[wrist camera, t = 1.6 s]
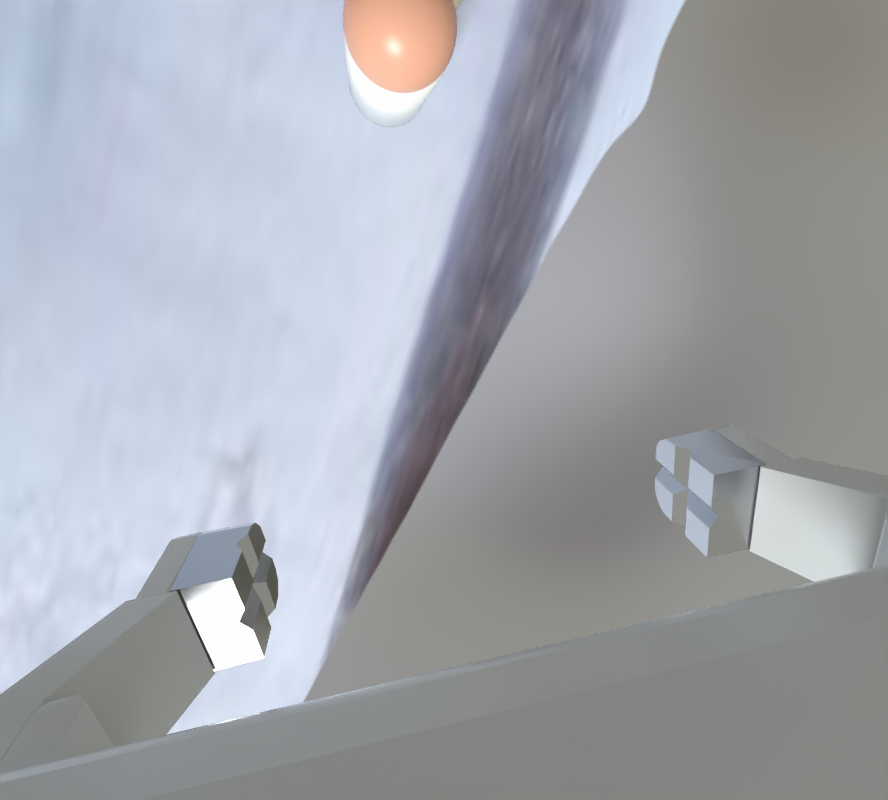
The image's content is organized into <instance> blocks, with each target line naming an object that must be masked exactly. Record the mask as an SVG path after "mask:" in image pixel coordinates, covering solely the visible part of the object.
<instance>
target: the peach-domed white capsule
mask: <svg viewBox="0 0 888 800" xmlns="http://www.w3.org/2000/svg"><path fill="white" fill-rule="evenodd" d="M343 29H344V39H345V50H346V60H347V70H348V80H349V88H350V93H351V96H352V99H353V101H354V103H355V105H356V107H357V108H358V110H359V111H360V112H361V113H362V115H363V116H364V117H366V118H367V119H368V120H369V121H371V122H373V123H374V124H377V125H379V126H382V127H389V128H391V127H399V126H402V125H404V124H406V123H408V122H409V121H411V120H412V119H413V118H414V117H415V116H416V115H417V114H418V112H419V111H420V109H421V108H422V106H423V104H424V103H425V101H426V100H427V98H428V96H429V95H430V93H431V91H432V90H433V88H434V87H435V85H436V83H437V82H438V80H439V78H440V77H441V75H442V74H443V72H444V70H445V69H446V67H447V65H448V63H449V61H450V59H451V56H452V54H453V50H454V47H455V42H456V35H457V17H456V10H455V5H454V1H453V0H345V1H344V9H343Z"/></svg>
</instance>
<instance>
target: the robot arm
mask: <svg viewBox="0 0 888 800" xmlns="http://www.w3.org/2000/svg"><path fill="white" fill-rule="evenodd" d="M656 460H657V461H658V462H659V464H660V465H661V466H662V469H661V470H660V471H659V473H658V474H657V476H656V477H655V492H656V496H657V499H658V502H659V505H660V507H661V509H662V510H663V512H664V514H665V515H666V516H667V517H668V518H669V519H670V520H671V521H672V522H675V523H678V524H680V525H683V526H685V527H686V531H685V535H686V537H687V538H688V539H689V540H690V541H692V543H693V544H694V545H695V546H696V547H697V548H698V549H699V550H700V551H701V552H702V553H703V554H704V555H705V556H706V557H712V556H717V555H722V554H727V553H732V552H737V551H742V550H747V549H750V551H751V552H753V553H755V554H757V555H759V556H761V557H764V558H765V559H768V560H770V561H772V562H774V563H776V564H778V565H780V566H782V567H785V568H787V569H789V570H791V571H793V572H795V573H797V574H799V575H801V576H804V577H806V578H808V579H810V580H812V581H814V582H812V583H808V584H803V585H800V586H795V587H791V588H787V589H782V590H778V591H774V592H770V593H765V594H761V595H757V596H752V597H749V598H744V599H740V600H736V601H732V602H727V603H723V604H718V605H714V606H710V607H706V608H701V609H697V610H693V611H689V612H684V613H680V614H676V615H672V616H667V617H664V618H659V619H655V620H650V621H646V622H642V623H638V624H633V625H629V626H625V627H621V628H617V629H612V630H608V631H604V632H600V633H595V634H591V635H587V636H583V637H579V638H575V639H570V640H566V641H562V642H558V643H553V644H549V645H545V646H541V647H536V648H532V649H528V650H524V651H520V652H515V653H512V654H507V655H503V656H499V657H494V658H490V659H486V660H482V661H477V662H473V663H469V664H465V665H460V666H457V667H452V668H448V669H444V670H440V671H435V672H431V673H427V674H422V675H418V676H414V677H410V678H405V679H401V680H397V681H393V682H388V683H384V684H380V685H376V686H371V687H367V688H363V689H359V690H354V691H350V692H346V693H342V694H338V695H333V696H329V697H325V698H321V699H316V700H312V701H308V702H303V703H299V704H295V705H291V706H286V707H282V708H278V709H274V710H270V711H265V712H261V713H257V714H253V715H248V716H244V717H240V718H236V719H231V720H227V721H223V722H219V723H214V724H210V725H206V726H202V727H197V728H193V729H189V730H185V731H180V732H176V733H172V734H168V735H166V734H167V733H168V732H169V730H170V729H171V728H172V727H173V725H174V724H175V723H176V722H177V720H178V719H179V718H180V717H181V715H182V714H183V713H184V712H185V710H186V709H187V708H188V706H189V705H190V704H191V703H192V701H193V700H194V699H195V698H196V696H197V695H198V694H199V693H200V691H201V690H202V689H203V688H204V686H205V685H206V684H207V683H208V681H209V680H210V679H211V678H212V676H213V675H214V674H215V672H214V671H215V670H219V669H223V668H227V667H231V666H235V665H238V664H242V663H246V662H250V661H254V660H258V659H262V658H264V655H265V651H266V647H267V643H268V638H269V634H270V630H271V626H270V623H269V620H268V618H267V617H268V616H269V615H270V614H271V613H272V612H273V610H274V609H275V608H276V604H277V599H278V578H277V573H276V568H275V565H274V562H273V559H272V558H271V557H269V556H268V555H266V554H265V553H263V552H262V551H263V548H264V544H265V541H266V540H265V537H264V535H263V532H262V529H261V527H260V526H259V525H258V524H257V523H250V524H245V525H239V526H234V527H228V528H223V529H217V530H212V531H207V532H203V533H195V534H191V535H186V536H181V537H177V538H175V539H173V540H171V541H170V543H169V544H168V546H167V548H166V549H165V551H164V553H163V554H162V556H161V558H160V559H159V561H158V563H157V564H156V566H155V568H154V569H153V571H152V572H151V574H150V576H149V577H148V579H147V581H146V582H145V584H144V586H143V587H142V589H141V591H140V592H139V594H138V596H137V597H136V599H134V600H130V601H126V602H125V603H123V604H122V605H120V606H119V607H118V608H116V609H115V610H114V611H112V612H111V613H110V614H108V615H107V616H106V617H104V618H103V619H102V620H100V621H99V622H98V623H96V624H95V625H93V626H92V627H91V628H89V629H88V630H87V631H85V632H84V633H83V634H81V635H80V636H79V637H77V638H76V639H75V640H73V641H72V642H71V643H69V644H68V645H67V646H65V647H64V648H62V649H61V650H60V651H58V652H57V653H56V654H54V655H53V656H52V657H50V658H49V659H48V660H46V661H45V662H44V663H42V664H41V665H40V666H38V667H37V668H36V669H34V670H33V671H31V672H30V673H29V674H27V675H26V676H25V677H23V678H22V679H21V680H19V681H18V682H17V683H15V684H14V685H13V686H11V687H10V688H9V689H7V690H6V691H5V692H3V693H2V694H0V800H888V476H887V475H882V474H877V473H872V472H868V471H863V470H858V469H853V468H849V467H843V466H839V465H834V464H830V463H825V462H820V461H815V460H811V459H806V458H797V459H793V458H791V457H789V456H788V455H786V454H784V453H783V452H781V451H779V450H777V449H776V448H774V447H772V446H771V445H769V444H767V443H765V442H763V441H762V440H760V439H758V438H757V437H755V436H753V435H752V434H750V433H748V432H746V431H745V430H743V429H741V428H739V427H738V426H736V425H724V426H720V427H716V428H712V429H707V430H705V431H700V432H696V433H691V434H687V435H683V436H678V437H674V438H669V439H665V440H661V441H659V443H658V445H657V448H656Z"/></svg>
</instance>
